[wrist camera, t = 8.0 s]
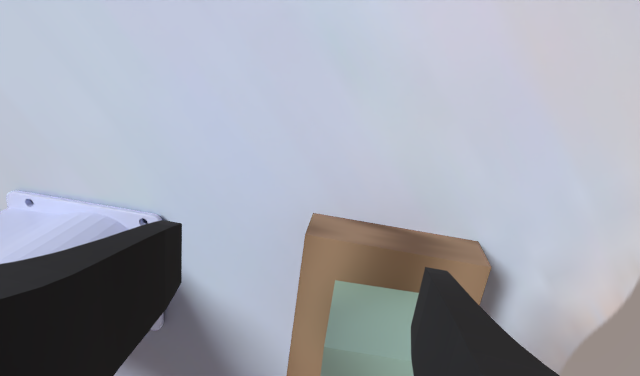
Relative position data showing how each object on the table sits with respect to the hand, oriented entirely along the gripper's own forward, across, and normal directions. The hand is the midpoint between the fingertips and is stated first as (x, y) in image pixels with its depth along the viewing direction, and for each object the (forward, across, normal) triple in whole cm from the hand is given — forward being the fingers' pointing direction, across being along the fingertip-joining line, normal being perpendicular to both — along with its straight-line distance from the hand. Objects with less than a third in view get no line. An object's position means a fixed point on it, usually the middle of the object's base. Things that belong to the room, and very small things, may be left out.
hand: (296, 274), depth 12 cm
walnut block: (+11, -4, +7) cm, 14 cm away
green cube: (+8, -4, +7) cm, 11 cm away
